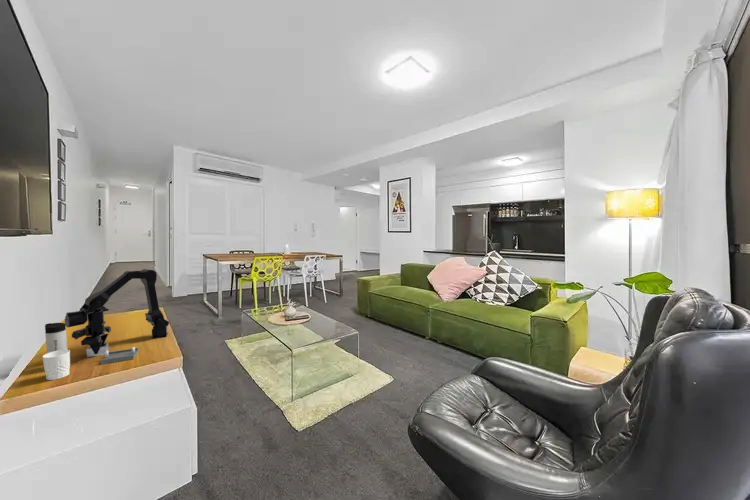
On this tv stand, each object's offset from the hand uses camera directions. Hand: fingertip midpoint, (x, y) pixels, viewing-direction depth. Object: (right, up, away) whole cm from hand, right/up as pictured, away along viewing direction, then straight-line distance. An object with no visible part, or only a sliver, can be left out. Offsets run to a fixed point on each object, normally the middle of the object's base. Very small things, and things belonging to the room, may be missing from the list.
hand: (98, 352), depth 146 cm
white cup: (+3, -3, -21) cm, 22 cm away
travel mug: (-5, -2, -13) cm, 15 cm away
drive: (0, -1, 0) cm, 1 cm away
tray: (+14, -2, -3) cm, 15 cm away
